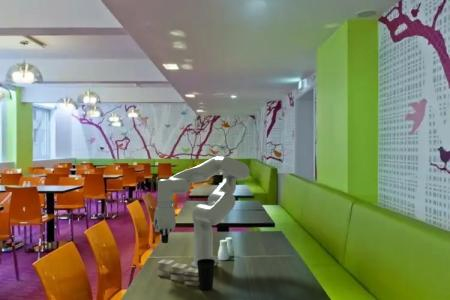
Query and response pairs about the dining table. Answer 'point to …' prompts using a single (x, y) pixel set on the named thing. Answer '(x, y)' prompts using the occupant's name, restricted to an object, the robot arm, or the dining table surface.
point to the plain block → (164, 267)
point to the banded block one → (178, 271)
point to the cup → (206, 274)
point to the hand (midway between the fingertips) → (164, 242)
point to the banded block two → (191, 277)
